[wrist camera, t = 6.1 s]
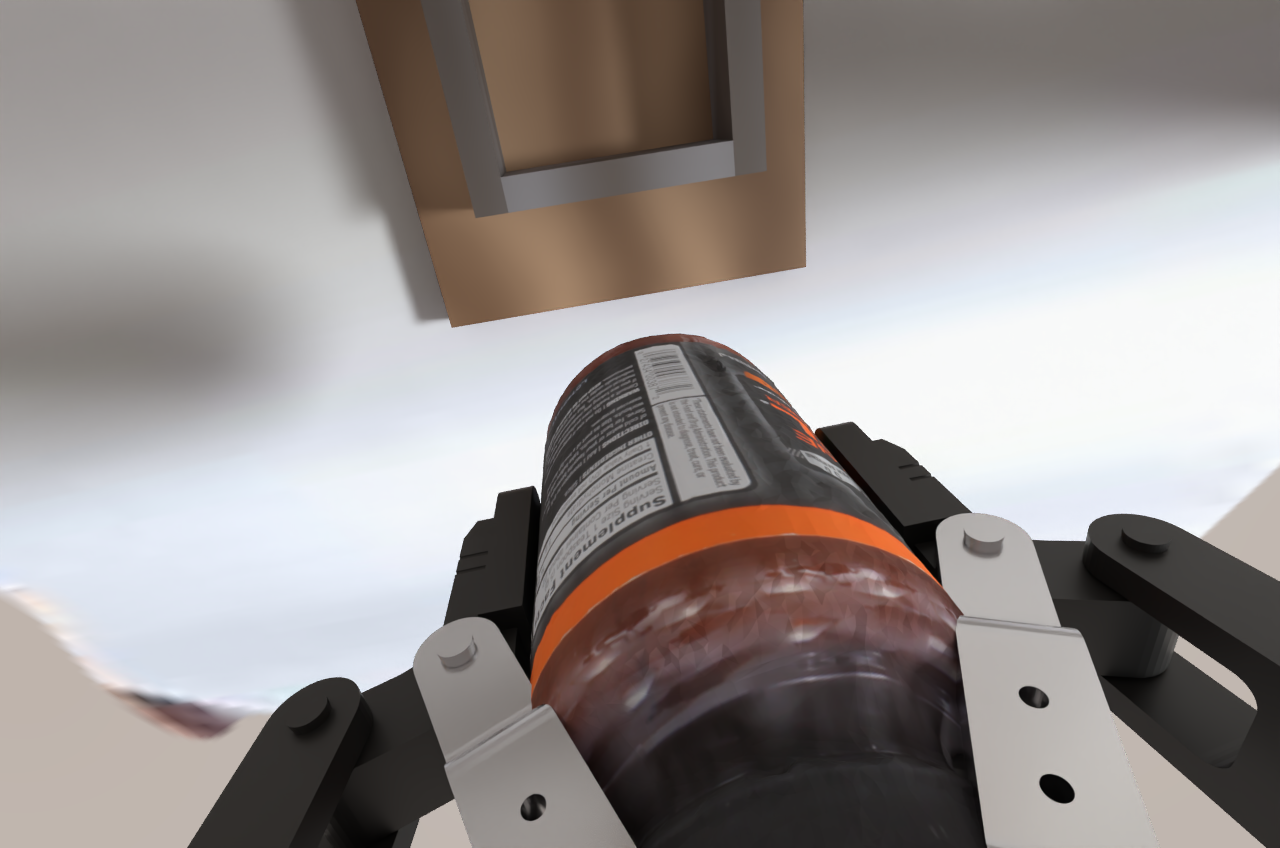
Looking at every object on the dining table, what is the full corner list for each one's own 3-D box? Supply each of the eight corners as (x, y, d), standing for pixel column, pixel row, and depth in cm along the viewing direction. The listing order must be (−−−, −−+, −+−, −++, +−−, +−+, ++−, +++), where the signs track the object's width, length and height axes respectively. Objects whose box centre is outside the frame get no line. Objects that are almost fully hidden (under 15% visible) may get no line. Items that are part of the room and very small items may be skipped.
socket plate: (781, -365, 19) (841, -494, 15) (794, 260, 28) (833, 282, 24) (277, -306, 18) (200, -427, 14) (456, 318, 28) (440, 350, 24)
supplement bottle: (817, 454, 16) (1259, 1020, 6) (635, 570, 17) (742, 1223, 7) (699, 271, 13) (1122, 712, 3) (492, 419, 14) (330, 1105, 4)
